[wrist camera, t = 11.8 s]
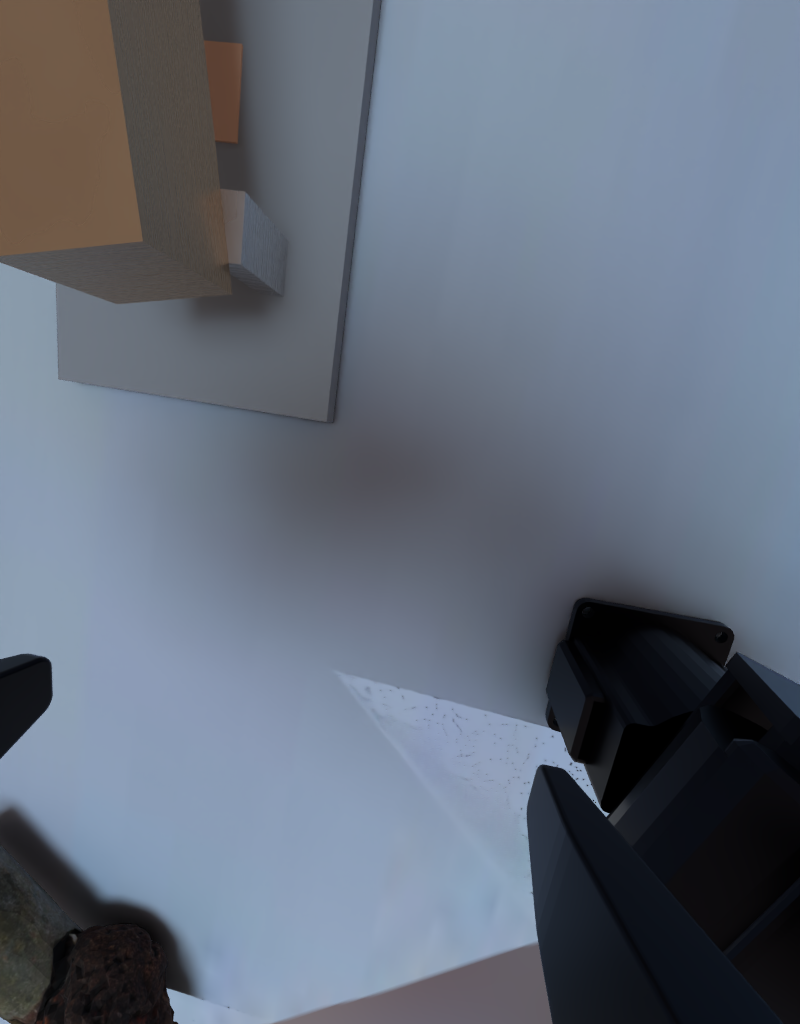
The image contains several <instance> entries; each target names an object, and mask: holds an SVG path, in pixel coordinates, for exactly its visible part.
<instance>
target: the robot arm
mask: <svg viewBox="0 0 800 1024" xmlns="http://www.w3.org/2000/svg"><path fill="white" fill-rule="evenodd" d="M586 607H591V611H590V613H588V614H583V613H582V611H583V609H584V608H586ZM719 632H722V634H721V636H720V637H718V638H715V635H716V634H717V633H719ZM733 640H734V633H733V631H732V630H731V629H730V628H728V627H727V626H726V625H724V624H722V623H719V622H714V621H709V620H704V619H698V618H693V617H687V616H682V615H676V614H671V613H666V612H660V611H655V610H649V609H644V608H638V607H633V606H628V605H622V604H617V603H611V602H606V601H600V600H595V599H590V598H583V599H580V600H578V601H577V602H576V603H575V605H574V608H573V612H572V616H571V619H570V623H569V627H568V631H567V635H566V638H565V640H563V641H561V642H560V643H559V644H558V646H557V650H556V654H555V657H554V661H553V665H552V669H551V673H550V677H549V681H548V684H547V688H546V692H547V695H548V698H549V703H548V707H547V711H546V720H547V723H548V725H549V727H550V728H551V729H552V730H555V731H558V732H561V734H562V737H563V739H564V742H565V745H566V748H567V750H568V753H569V755H570V756H571V758H572V759H573V761H574V762H578V763H582V764H584V766H585V769H586V771H587V774H588V776H589V779H590V781H591V784H592V786H593V789H594V792H595V794H596V797H597V799H598V802H599V804H600V807H601V808H602V810H603V811H605V812H607V813H610V814H609V815H608V816H607V817H605V815H604V814H603V813H602V812H601V811H600V810H599V808H598V807H597V806H596V805H595V804H594V803H593V801H592V800H591V799H590V798H589V797H588V796H587V795H586V793H585V792H584V791H583V790H582V789H581V788H580V786H579V785H578V784H577V783H576V782H575V781H574V779H573V778H572V777H571V776H570V775H569V774H568V773H567V772H566V771H565V770H564V769H562V768H558V767H553V766H548V765H540V766H539V767H538V768H537V770H536V774H535V777H534V781H533V785H532V789H531V793H530V796H529V800H528V805H527V827H528V839H529V851H530V862H531V874H532V886H533V897H534V909H535V919H536V929H537V936H538V943H539V949H540V955H541V961H542V966H543V972H544V978H545V983H546V989H547V995H548V1001H549V1006H550V1012H551V1018H552V1023H553V1024H800V685H799V684H797V683H795V682H793V681H791V680H790V679H788V678H786V677H784V676H782V675H780V674H778V673H776V672H774V671H773V670H771V669H769V668H767V667H765V666H763V665H761V664H759V663H757V662H756V661H754V660H752V659H750V658H748V657H746V656H744V655H742V654H740V653H738V652H736V653H735V655H734V656H733V657H732V658H731V660H730V661H729V662H728V663H727V664H726V667H727V668H725V667H724V665H725V663H726V660H727V657H728V654H729V651H730V649H731V646H732V643H733ZM52 696H53V691H52V665H51V662H50V660H49V659H47V658H46V657H42V656H37V655H33V654H20V655H16V656H12V657H8V658H4V659H0V759H1V758H2V757H3V756H4V754H5V753H6V752H7V751H8V750H9V749H10V748H11V747H12V746H13V745H14V744H15V743H16V742H17V741H18V740H19V739H20V737H21V736H22V735H23V734H24V733H25V732H26V731H27V730H28V729H29V728H30V727H31V726H32V725H33V724H34V723H35V722H36V720H37V719H38V718H39V717H40V716H41V715H42V714H43V713H44V712H45V711H46V710H47V708H48V707H49V705H50V703H51V700H52ZM554 718H556V720H557V721H555V720H554Z"/></svg>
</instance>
